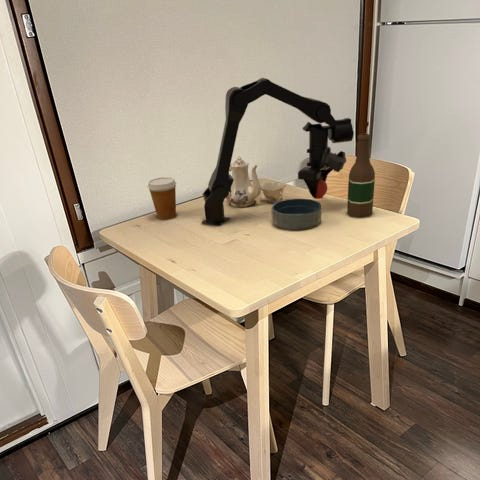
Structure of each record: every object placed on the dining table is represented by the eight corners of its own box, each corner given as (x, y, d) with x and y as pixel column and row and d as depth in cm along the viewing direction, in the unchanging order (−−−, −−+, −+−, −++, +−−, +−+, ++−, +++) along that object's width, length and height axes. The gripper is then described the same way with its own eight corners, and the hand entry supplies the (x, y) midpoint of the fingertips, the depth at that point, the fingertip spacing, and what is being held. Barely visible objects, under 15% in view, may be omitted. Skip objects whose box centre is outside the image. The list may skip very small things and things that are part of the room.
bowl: (309, 233, 144) (309, 217, 141) (263, 227, 151) (263, 211, 148) (328, 216, 155) (328, 201, 152) (284, 211, 161) (284, 196, 159)
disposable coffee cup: (178, 220, 162) (173, 184, 155) (150, 222, 162) (144, 186, 156) (182, 210, 170) (177, 176, 163) (155, 212, 170) (149, 177, 164)
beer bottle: (372, 218, 151) (378, 136, 138) (346, 217, 152) (350, 137, 140) (371, 209, 157) (377, 131, 145) (347, 209, 159) (350, 132, 146)
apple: (323, 201, 157) (323, 178, 153) (305, 199, 159) (305, 177, 155) (329, 195, 161) (330, 173, 157) (312, 193, 164) (313, 172, 160)
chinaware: (292, 202, 173) (294, 153, 166) (269, 212, 161) (270, 160, 153) (227, 194, 187) (225, 148, 179) (201, 203, 174) (198, 155, 167)
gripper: (332, 153, 141) (331, 205, 149) (353, 139, 154) (350, 188, 163) (297, 151, 146) (297, 202, 154) (320, 138, 159) (319, 185, 168)
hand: (317, 194), depth 160 cm, fingers closed on apple, 6 cm apart
